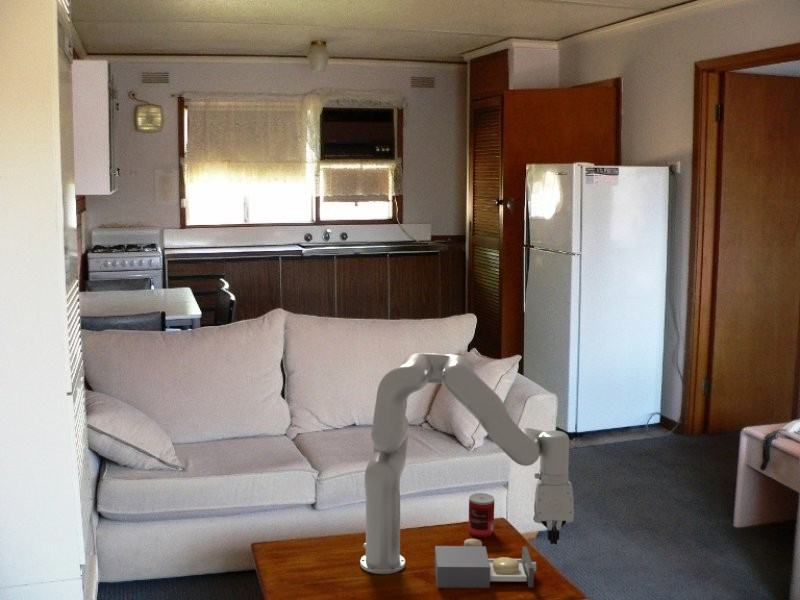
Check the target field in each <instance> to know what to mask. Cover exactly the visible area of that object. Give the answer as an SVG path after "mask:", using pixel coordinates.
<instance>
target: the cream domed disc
mask: <svg viewBox="0 0 800 600" xmlns="http://www.w3.org/2000/svg"><path fill="white" fill-rule="evenodd" d="M494 559H495V560H494V561H493V570H494V571H495V572H496V573H498V574H502V575H513V574H516V573H517V572H518V571H519V563H518V561H517V560H515V559H516V558H512V557H507V556H505V557H504V556H503V557H502V556H501V557H498V558H494Z"/></svg>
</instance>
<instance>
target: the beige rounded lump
mask: <svg viewBox="0 0 800 600" xmlns="http://www.w3.org/2000/svg"><path fill="white" fill-rule="evenodd" d="M463 546H483V542H482V540H481V539H476V538H468V539H465V540H464V541H463Z"/></svg>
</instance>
